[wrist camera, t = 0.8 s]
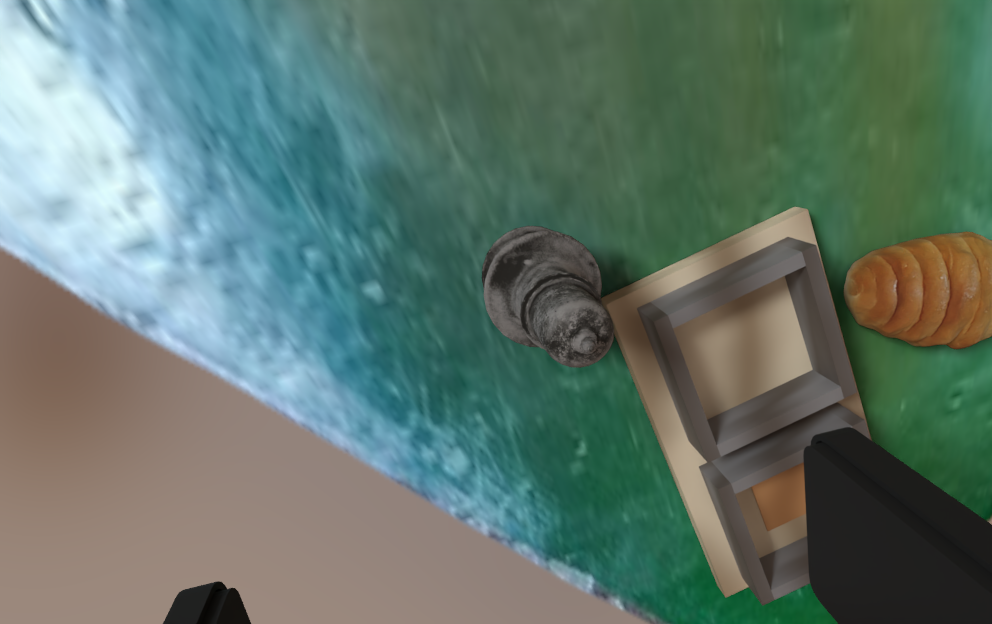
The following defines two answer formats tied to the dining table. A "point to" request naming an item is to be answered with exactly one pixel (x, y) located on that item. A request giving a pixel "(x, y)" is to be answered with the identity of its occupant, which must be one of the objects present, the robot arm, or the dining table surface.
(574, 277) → the salt shaker
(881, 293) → the pastry
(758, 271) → the collar board
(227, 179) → the dining table surface
